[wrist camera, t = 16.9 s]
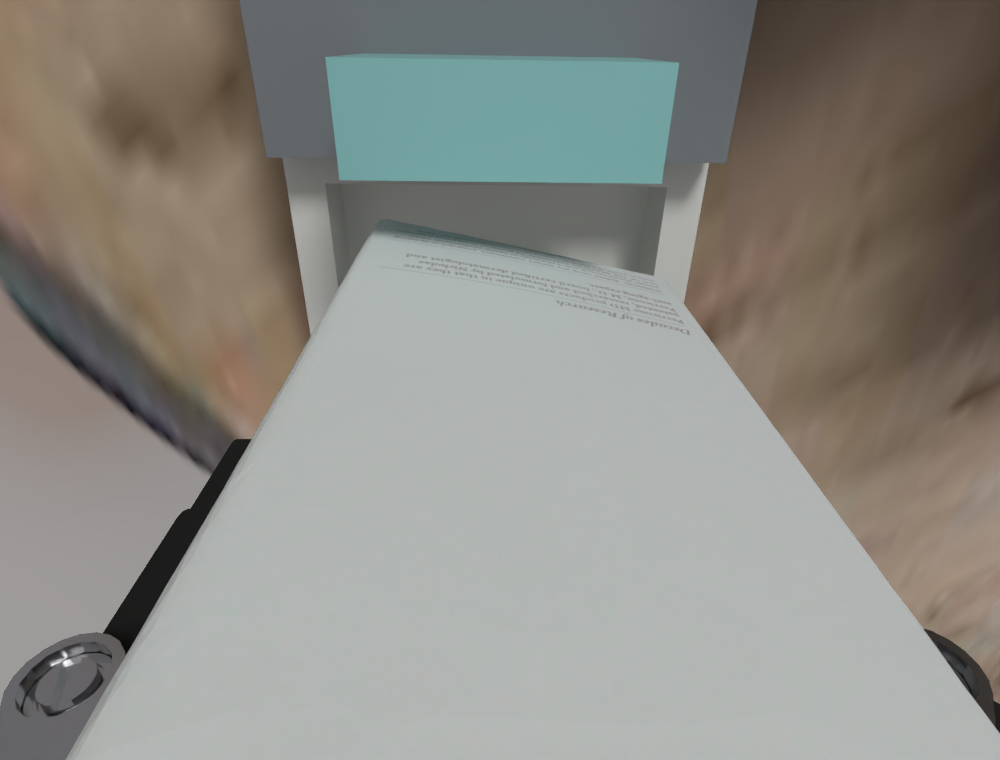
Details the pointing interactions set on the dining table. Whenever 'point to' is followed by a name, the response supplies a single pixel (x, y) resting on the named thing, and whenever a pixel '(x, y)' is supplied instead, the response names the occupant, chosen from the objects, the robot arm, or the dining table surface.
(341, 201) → the open white tray
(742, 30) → the gray and teal box
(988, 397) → the dining table surface
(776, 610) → the supplement box
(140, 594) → the robot arm
